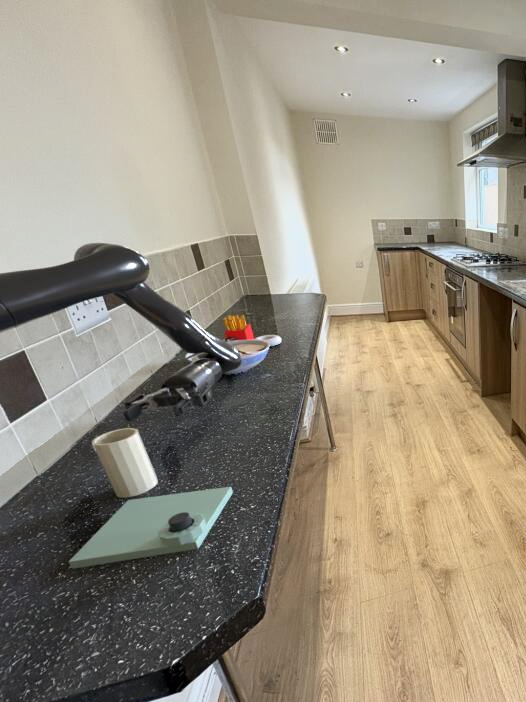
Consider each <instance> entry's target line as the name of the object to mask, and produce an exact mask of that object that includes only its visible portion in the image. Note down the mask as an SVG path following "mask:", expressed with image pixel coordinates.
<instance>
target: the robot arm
mask: <svg viewBox="0 0 526 702" xmlns="http://www.w3.org/2000/svg"><path fill="white" fill-rule="evenodd" d="M150 270H151V269H150V264H149V262H148V260H147V259H146V257H145V256H144V255H143V254H141V253H140V252H139V251H137V250H135V249H133V248H131V247H128V246H125V245H121V244H115V243H107V242H89V243H86V244H83V245H81V246H80V247H79V248H77V249H76V251H75V252H74V256H73V260H71V261H68V262H64V263H61V264H57V265H53V266H48V267H41V268H33V269H32V268H31V269H23V270H16V271H15V270H14V271H8V272H1V273H0V334H2V333H4V332H7V331H10V330H13V329H15V328H18V327H21V326H23V325H26V324H28V323H31V322H33V321H37V320H39V319H41V318H45V317H48V316H50V315H52V314H55V313H58V312H60V311H63V310H65V309H68V308H69V307H72V306H75V305H77V304H80V303H83V302H87V301H90V300H93V299H97V298H101V297H105V296H109V295H111V296H113V297H114V298H116V299H117V300H119V301H120V302H122V303H123V304H124V305H126V306H128V307H129V308H131V309H132V310H134V311H135V312H136V313H137V314H139V315H140V317H143V318H144V319H145V320H146V321H148V322H149V323H150V324H152V326H154V327H155V328H156V329H157V330H158V331H160V332H161V333H162V334H163V335H165V336H166V338H168V339H170V340H171V341H172V342H173V343H174V344H175V345H176V346H178V347H179V348H180V349H181V350H183V351H184V352H185V353H186V354H187V353H190V354H196V353H201V354H199V355H197V356H195V357H194V358H193V360H192V362H191V363H188V364H187V365H186V366H184V367H182V368H180V369H179V370H177V371H176V372H174V373H173V374H172V375H170V376H168V377H167V378H166V379H165V380H164V381H163V382H162V384H161V387H160V389H158V390H157V391H155V392H151V393H149V394H147V392H146V391H140V392H138V393H137V394H135V395H133V396H132V397H130V398H129V399H127V400H125V401H124V402H123V405H124V408H125V410H124V411H123V412H122V415H123V417H124V419H125V420H126V421H127V422H132V421H134V420H135V419H137V418H138V417H140V416H141V415H142V414H143V413H146V412H148V411H150V412H156V411H159V410H161V409H164V408H169V407H172V409H173V412H174V413H173V414H174V415H175V417H181V416H182V415H184V414H185V413H187V412H188V411H189V410H193V409H195V407H196V406H198V407H199V408H202V407H204V406H206V405H207V404H208V403H209V402H210V400H211V399H212V398H213V397H214V395H213V392H212V387H213V386H214V385H215V384H216V383H217V382H219V380H220V379H221V377H222V375H223V373H226V372H229V371H232V370H234V369H236V368H238V367H239V366H240V365H241V363H242V359H241V355H240V353H239V352H238V351H237V350H236V349H235V348H234V347H233V346H231V345H230V344H228V343H226V342H224V341H223V339H221V338H219V337H217V336H215V335H213V334H212V333H210V332H208V331H207V330H206V329H205V328H204V327H203V326H202V325H201V324H200V323H199V322H198V321H196V320H195V319H194V318H193V317H192V316H191V315H190V314H188V313H187V312H186V311H184V310H183V309H181V308H180V307H178V306H176V305H175V304H174V303H173V302H171V301H169V300H168V299H166V298H165V297H163V296H162V295H161V294H160V293H158V292H156V291H155V290H154V289H153V288H151V286H149V285H148V284H147V283H146V280H148V277H149V275H150ZM154 403H155V404H156V405H154Z"/></svg>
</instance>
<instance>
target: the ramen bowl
mask: <svg viewBox="0 0 526 702" xmlns="http://www.w3.org/2000/svg"><path fill="white" fill-rule="evenodd" d="M236 338H237V337H236V336H234V337H232V338H230V337H227V338H226V337H224V338H223V339H222V340H223V341H224V342H226V343H228V344H230V345H231V346H233V347H234V348H235V349H236V350H237V351H238V352H239V353H240V355H241V359H242V363H241V365H240V366H239V367H238V368H236V369H234V370H232V371H229V372H226V373H223V374H225V375H224V376H232V375H231V374H235V375H239V374H238V373H240V374H242V373H241V372H243V373H245V372H247V371H249V370H250V369H252V368H254V367H257V366H258V365H259V364H260V363H261V362H262V361H264V359H265V358H266V357H267V354H268V352H269V350H270V348H269V347H270V345H269V342H266V341H263V340H236V341H231V340H233V339H236ZM199 354H201V353H196V354H190V353H187V352H186V354H185V356H184V358H183V359H181V360H179V361H178V363H182V362H184V361H187V362H188V363H189V364H191V362H192V360H193V358H194V357H195V356H197V355H199ZM223 374H222V375H223Z"/></svg>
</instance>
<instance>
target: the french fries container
mask: <svg viewBox="0 0 526 702" xmlns="http://www.w3.org/2000/svg"><path fill="white" fill-rule="evenodd" d="M226 316H227V317H223V318H222V319H221V321H222V323H223V324H224V326H225V329H226V330H224V331H223V332H224V336H225V338H227V337H230V338H232V337H234V336H236V337H237V338H236V339H233V340H231V341H236V340H254V339H255V337H254V333H253V330H252V326H251V323H247V322H246V318H245V315H244V314H241V315H240V317H239V315H238V314H234V315H230V314H228V315H226Z"/></svg>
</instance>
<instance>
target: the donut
mask: <svg viewBox="0 0 526 702" xmlns="http://www.w3.org/2000/svg"><path fill="white" fill-rule="evenodd" d="M254 340H263V341H266V342H269V345H270V346H275V345H278V344H280V343H281V344H282V342H283V341H282V337H281V336H279V335H276V334H265V335H260V336H257V337H254ZM281 344H280V345H281ZM278 346H279V345H278Z"/></svg>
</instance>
